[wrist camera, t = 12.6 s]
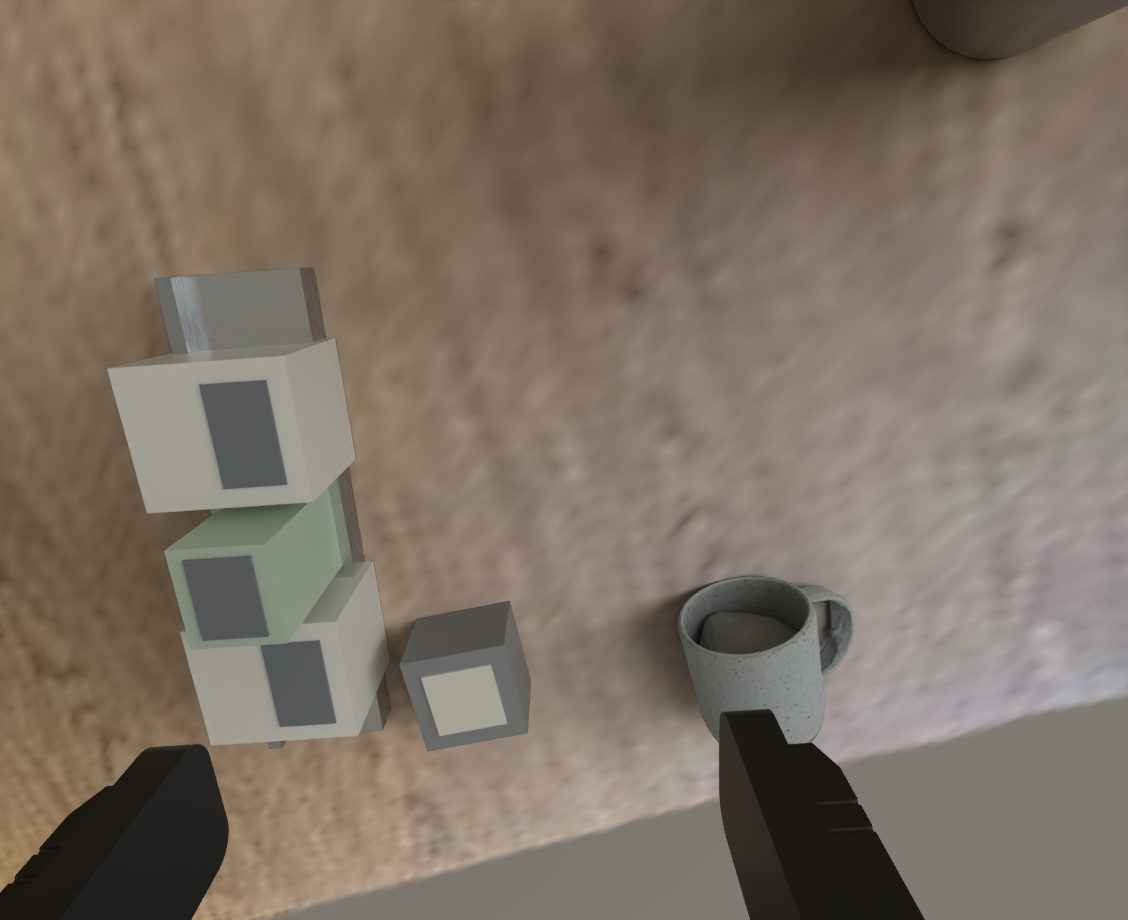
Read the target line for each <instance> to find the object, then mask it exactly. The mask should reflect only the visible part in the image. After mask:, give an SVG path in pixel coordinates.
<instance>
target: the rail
mask: <svg viewBox="0 0 1128 920" xmlns="http://www.w3.org/2000/svg"><path fill="white" fill-rule="evenodd" d="M154 281H155V285H156V289H157V293H158V297H159V301H160V306H161V310H162V314H163V318H164V322H165V326H166V330H167V334H168V338H169V342H170V346H171V350H172V354H173V355H178V354H189V353H193V352H197V351H207V350H221V349H235V348H249V347H263V346H277V345H291V344H305V343H314V342H317V341H320V340H323V339H326V336H325V330H324V325H323V319H322V313H321V307H320V302H319V296H318V290H317V285H316V279H315V273H314V267H313V268H292V269H279V270H265V271H251V272H237V273H223V274H210V275H196V276H182V277H164V278H154ZM328 491H329V496H330V502H331V507H332V513H333V518H334V524H335V529H336V535H337V540H338V546H339V551H340V556H341V562H342V566H341V568H340V569H339V571H338V572H337V574H336V575H335V576H334V578H342V577H355V576H356V575H357V573H358V571H359V570H360V568H361V567H362V565H363V564H364V562H365V559H364V553H363V548H362V542H361V536H360V531H359V525H358V519H357V513H356V508H355V502H354V496H353V490H352V485H351V479H350V473H349V468H348V467H347V468H346V469H345V470H344V471H343V472H342V473H341V474H340V475H339V476H338V477H337V478H336V479H335V480H334V481H333V482H332V483H331V484H330V485H329V486H328ZM220 509H221V508H220ZM220 509H210V510H211V514H212V515H213V514H214V513H215V512H217V511H218V510H220ZM390 710H391V708H390V702H389V696H388V691H387V685H386V679H385V674H384V675H383V678H382V680H381V683H380V685H379V687H378V690H377V692H376V695H375V697H374V699H373V702H372V704H371V707H370V709H369V711H368V714H367V716H366V719H365V721H364V723H363V726H362V728H361V731H360V732H367V731H382V730H383V729H384V727H385V724H386V721H387V718H388V716H389V713H390ZM285 742H286V741H273V742H268V746H269V749H273V748H282V747H283V745H284V744H285Z"/></svg>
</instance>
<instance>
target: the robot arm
mask: <svg viewBox="0 0 1128 920" xmlns="http://www.w3.org/2000/svg"><path fill="white" fill-rule="evenodd" d="M912 2H913V5H914V7H915V9H916V11H917V14H918V16H919V18H920V20H921V22H922V23H923V25H924V26H925V27H926V29H927V30H928V31H929V32H930V34H931V35H932V36H933V37H934V38H935V39H936V40H937V41H939V42H940V43H941V44H942V45H944V46H945V47H946V48H947V49H949V50H951V51H954V52H956V53H958V54H961V55H963V56H965V57H971V58H978V59H984V60H985V59H996V58H1005V57H1008V56H1011V55H1015V54H1018V53H1021V52H1024V51H1026V50H1028V49H1031V48H1033V47H1035V46H1037V45H1040V44H1042V43H1044V42H1046V41H1049V40H1051V39H1053V38H1056V37H1058V36H1060V35H1062V34H1065V33H1067V32H1069V31H1071V30H1074V29H1076V28H1078V27H1080V26H1083V25H1086V24H1088V23H1090V22H1092V21H1094V20H1097V19H1099V18H1101V17H1103V16H1106V15H1108V14H1110V13H1112V12H1115V11H1117V10H1119V9H1121V8H1124V7H1126V6H1128V0H912ZM719 796H720V807H721V814H722V820H723V826H724V830H725V834H726V839H727V842H728V846H729V849H730V852H731V856H732V859H733V863H734V866H735V869H736V873H737V876H738V880H739V883H740V887H741V890H742V893H743V897H744V900H745V904H746V907H747V911H748V914H749V917H750V920H925V919H924V918H923V916H922V914H921V912H920V910H919V908H918V907H917V905H916V903H915V901H914V899H913V898H912V896H911V894H910V892H909V890H908V889H907V887H906V885H905V883H904V881H903V880H902V878H901V876H900V875H899V873H898V871H897V869H896V867H895V865H894V863H893V862H892V860H891V858H890V856H889V854H888V853H887V851H886V849H885V847H884V845H883V844H882V842H881V840H880V838H879V836H878V835H877V833H876V832H874V831H873V829H872V824H871V822H870V820H869V819H868V817H867V815H866V813H865V811H864V810H863V808H862V806H861V805H859V804H858V800H857V797H856V795H855V793H854V792H853V790H852V788H851V786H850V784H849V783H848V781H847V779H846V777H845V776H844V774H843V772H842V770H841V768H840V767H839V766H838V765H837V764H835V763H834V762H833V761H832V760H831V759H830V758H829V757H828V756H826V755H825V754H824V753H823V752H822V751H821V750H820V749H818V748H817V747H816V746H815V745H814V744H813V743H798V744H788V742H787V740H786V738H785V736H784V734H783V732H782V730H781V728H780V726H779V724H778V721H777V719H776V717H775V715H774V714H773V712H772V711H771V710H770V709H758V710H743V711H727V712H721V714H720V720H719ZM228 834H229V828H228V820H227V816H226V812H225V809H224V805H223V802H222V798H221V794H220V791H219V787H218V784H217V780H216V776H215V773H214V769H213V766H212V762H211V759H210V755H209V753H208V751H207V749H206V748H205V747H204V746H203V745H200V744H194V745H178V746H163V747H151V748H148V749H146V750H144V751H143V752H142V753H141V754H140V755H139V756H138V757H137V758H136V759H135V760H134V762H133V763H132V764H131V765H130V766H129V768H128V769H127V770H126V771H125V772H124V773H123V775H122V776H121V777H120V778H119V779H118V781H117V782H116V783H115V784H114V785H113V786H106V787H105V788H104V789H102V790H101V791H100V792H98V793H97V794H96V795H94V796H93V797H92V798H90V799H89V800H88V801H86V802H85V803H84V804H82V805H81V806H80V807H78V808H77V809H76V810H75V811H73V812H72V813H71V814H69V815H68V816H67V817H66V818H65V820H64V821H63V822H62V823H61V824H60V825H59V826H58V828H57V829H56V830H55V831H54V832H53V833H52V834H51V836H50V837H49V838H48V839H47V840H46V841H45V842H44V844H43V845H42V846H41V847H40V848H39V849H40V851H39V853H38V855H33V856H32V857H31V858H30V859H29V861H28V862H27V863H26V864H25V865H24V866H23V867H22V869H21V870H20V871H19V872H18V873H17V874H16V875H15V880H14V882H13V883H12V884H8V885H7V886H6V887H5V888H4V889H3V890H2V891H1V893H0V920H191V919H192V917H193V916H194V914H195V912H196V910H197V908H198V907H199V905H200V903H201V901H202V899H203V897H204V896H205V894H206V892H207V890H208V888H209V887H210V885H211V883H212V881H213V879H214V878H215V876H216V874H217V872H218V870H219V868H220V866H221V864H222V862H223V859H224V856H225V853H226V848H227V843H228Z"/></svg>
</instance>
